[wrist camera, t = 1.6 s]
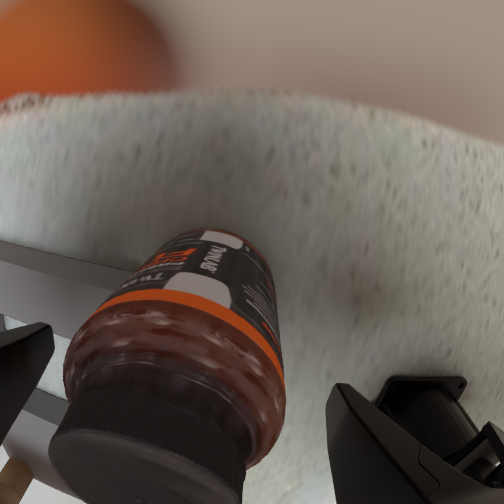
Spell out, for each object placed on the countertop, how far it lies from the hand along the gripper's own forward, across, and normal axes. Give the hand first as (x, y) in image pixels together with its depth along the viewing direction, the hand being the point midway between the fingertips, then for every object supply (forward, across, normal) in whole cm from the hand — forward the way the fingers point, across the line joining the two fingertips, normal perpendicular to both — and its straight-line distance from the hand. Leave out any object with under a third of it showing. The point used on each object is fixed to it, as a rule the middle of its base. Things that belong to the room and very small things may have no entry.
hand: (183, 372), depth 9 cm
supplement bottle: (+7, 0, 0) cm, 7 cm away
